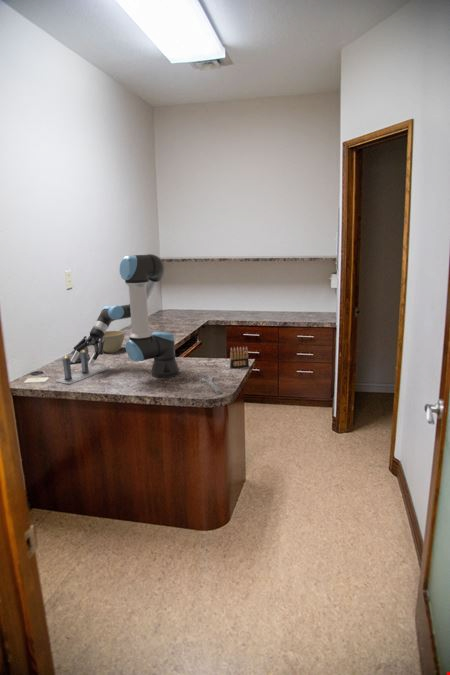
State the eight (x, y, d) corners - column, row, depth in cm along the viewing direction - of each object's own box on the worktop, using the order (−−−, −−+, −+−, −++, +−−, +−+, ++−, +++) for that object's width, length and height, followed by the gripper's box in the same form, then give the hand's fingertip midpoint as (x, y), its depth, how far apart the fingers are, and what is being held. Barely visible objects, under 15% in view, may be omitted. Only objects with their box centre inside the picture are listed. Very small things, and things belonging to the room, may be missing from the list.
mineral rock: (67, 364, 269) (66, 348, 267) (68, 360, 279) (66, 344, 277) (90, 362, 273) (88, 346, 271) (89, 357, 283) (88, 342, 281)
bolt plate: (110, 368, 258) (108, 346, 255) (69, 384, 233) (66, 359, 230) (97, 366, 263) (95, 344, 260) (56, 381, 237) (53, 357, 234)
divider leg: (89, 371, 249) (87, 350, 246) (85, 372, 246) (83, 351, 244) (85, 370, 250) (83, 349, 247) (81, 371, 248) (79, 350, 245)
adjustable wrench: (222, 394, 212) (222, 391, 212) (209, 396, 211) (209, 392, 211) (211, 378, 236) (211, 375, 236) (199, 380, 235) (199, 376, 234)
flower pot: (127, 352, 292) (125, 334, 290) (98, 356, 286) (97, 337, 284) (123, 346, 309) (122, 329, 306) (96, 349, 303) (94, 332, 300)
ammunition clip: (248, 365, 256) (247, 345, 253) (249, 366, 254) (248, 346, 251) (229, 367, 253) (229, 347, 251) (230, 368, 252) (230, 348, 249)
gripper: (118, 336, 251) (101, 369, 242) (86, 332, 263) (69, 363, 254) (111, 328, 245) (93, 362, 236) (78, 325, 257) (60, 357, 248)
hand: (81, 363), depth 245 cm, fingers open, 13 cm apart
